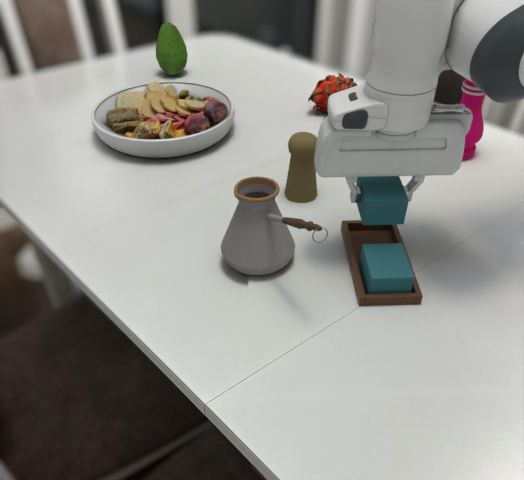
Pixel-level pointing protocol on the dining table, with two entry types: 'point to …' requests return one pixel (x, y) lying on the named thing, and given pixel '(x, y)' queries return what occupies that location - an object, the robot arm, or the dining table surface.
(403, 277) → the teal block
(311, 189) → the olive peg doll
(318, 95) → the dragon fruit
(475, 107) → the pepper mill
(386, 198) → the loose pad
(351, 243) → the brown wooden tray
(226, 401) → the dining table surface
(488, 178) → the dining table surface
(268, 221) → the coffee pot
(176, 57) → the avocado
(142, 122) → the bowl
